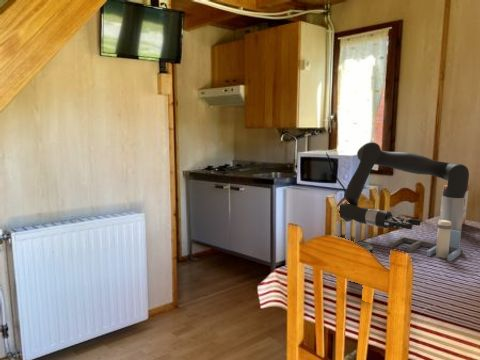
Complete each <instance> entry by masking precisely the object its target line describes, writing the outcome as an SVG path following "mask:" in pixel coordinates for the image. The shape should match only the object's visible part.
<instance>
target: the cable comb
mask: <svg viewBox="0 0 480 360" xmlns="http://www.w3.org/2000/svg"><path fill="white" fill-rule="evenodd" d="M461 235H462V230H461V231H456V230H451V231H450V242H449V254H448V257H447V258H446V261H448V262H452V261H453V260H455V259H456V258H457V257H460V255H464V250H465V249H464V248H461V247H460V245H461V237H462V236H461ZM402 243H407V244H409V245H407V248H406V251H407V252H409V253H411V252H412V251H415V250H417V249H418V248H420V247H427V248H429V249H427V250H426V257H431V256H433V255H435V254H436V245H437V242H436V243H435V242H432V241H427V240H421V239H417V238H412V237H407V236H402V235H401V236H399V237H398V238H396V239H393V240H391V241H390V242H389V244H388V247H389V248H392V249H393V248H394V247H396V246H398V245H400V244H402Z"/></svg>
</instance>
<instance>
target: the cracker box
mask: <svg viewBox="0 0 480 360" xmlns="http://www.w3.org/2000/svg"><path fill="white" fill-rule="evenodd" d="M447 185H448V184H445V185H442V188H441V189H442V190H441V199H440V200H441V201H440V208H439V209H440V210H439V212H440V211H441V210H442V200H443V191H444V190H445V189H446V188H447ZM469 188H470V185H468V187H467V191H466V193H465V198H464V209H463V220H462V225H466V218H467V217H466V216H467V208H468V198H469V190H470V189H469ZM439 220H440V216H439ZM439 220H438V221H439Z"/></svg>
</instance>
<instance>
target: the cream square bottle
mask: <svg viewBox="0 0 480 360" xmlns="http://www.w3.org/2000/svg"><path fill="white" fill-rule="evenodd" d="M451 228H452V225H451V222H450V221H446V220H438V223H437V233H436V234H437V236H436V243H437V245H436V253H435V257H437V258H440V257H441V259H442V258H443V259H447V257H448V255H449V254H450V252H449V242H450V231H451Z"/></svg>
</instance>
